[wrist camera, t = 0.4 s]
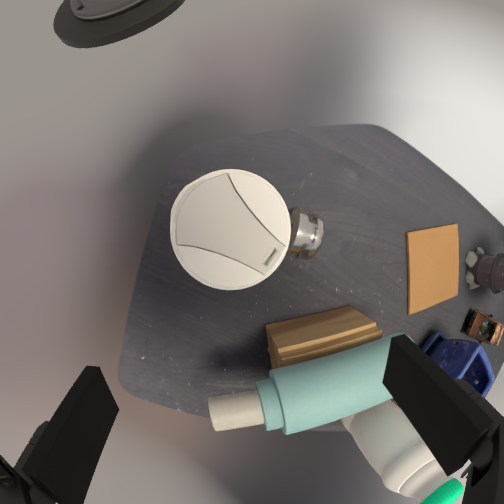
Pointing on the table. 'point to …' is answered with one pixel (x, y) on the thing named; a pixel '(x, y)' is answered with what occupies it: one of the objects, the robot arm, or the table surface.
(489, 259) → the model tower
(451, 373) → the flower pot
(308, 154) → the table surface
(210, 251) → the paper cup
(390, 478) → the water bottle
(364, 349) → the plastic bottle
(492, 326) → the toy car
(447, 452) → the robot arm
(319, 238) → the metal grooved wheel
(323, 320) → the birch block
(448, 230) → the cork mat
